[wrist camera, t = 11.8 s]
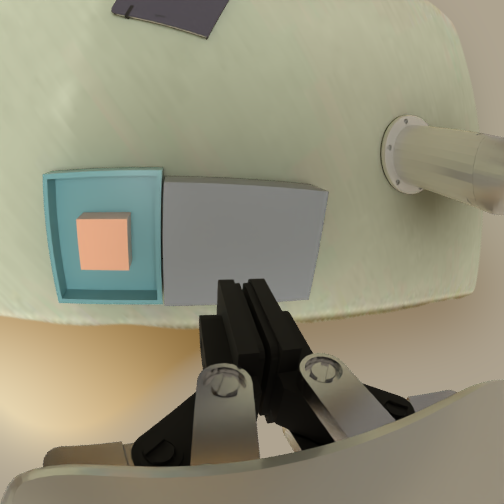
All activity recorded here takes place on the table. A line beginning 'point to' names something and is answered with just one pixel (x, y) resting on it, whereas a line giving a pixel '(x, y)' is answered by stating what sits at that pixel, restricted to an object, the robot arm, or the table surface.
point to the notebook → (174, 13)
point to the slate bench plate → (239, 236)
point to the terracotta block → (104, 240)
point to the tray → (105, 200)
